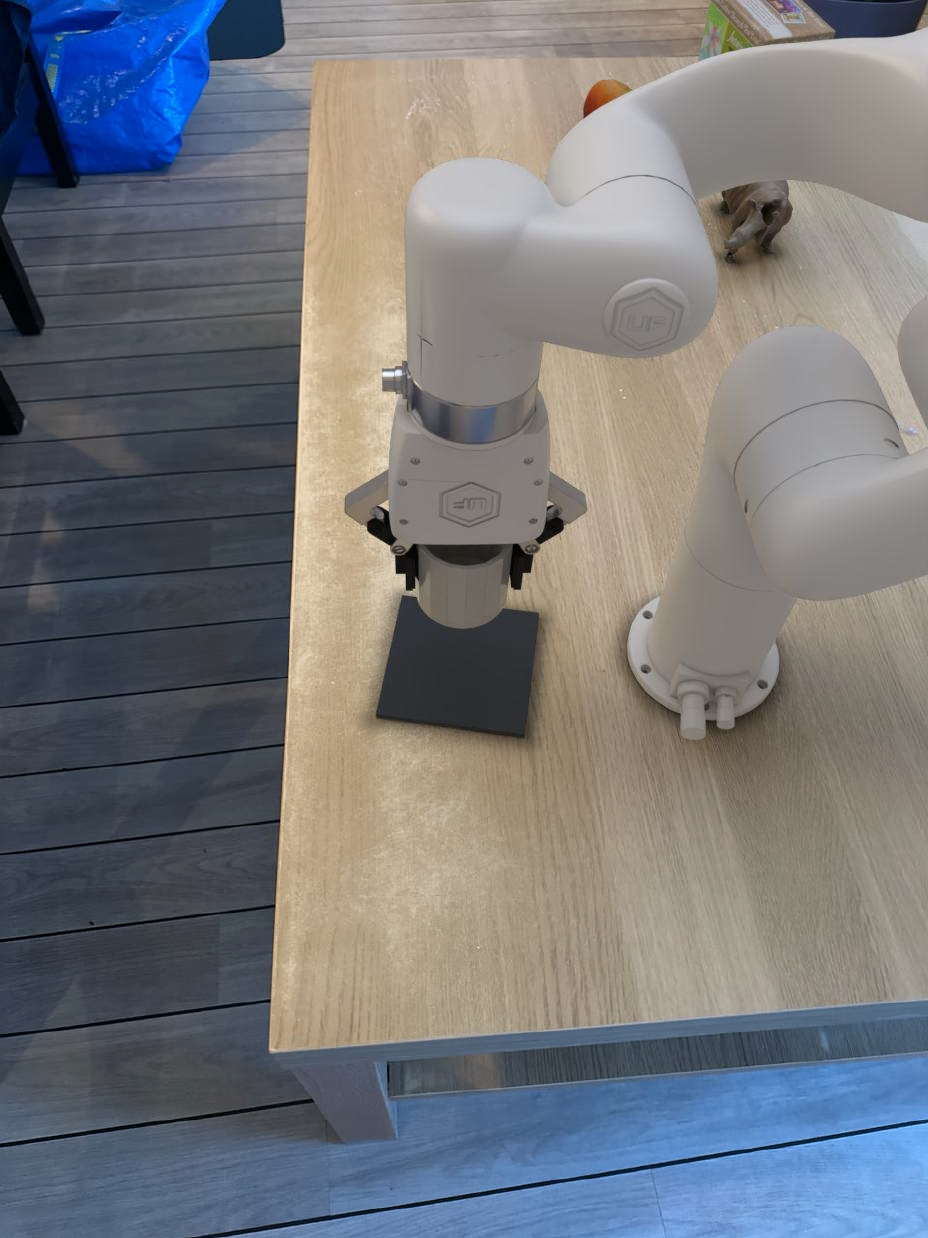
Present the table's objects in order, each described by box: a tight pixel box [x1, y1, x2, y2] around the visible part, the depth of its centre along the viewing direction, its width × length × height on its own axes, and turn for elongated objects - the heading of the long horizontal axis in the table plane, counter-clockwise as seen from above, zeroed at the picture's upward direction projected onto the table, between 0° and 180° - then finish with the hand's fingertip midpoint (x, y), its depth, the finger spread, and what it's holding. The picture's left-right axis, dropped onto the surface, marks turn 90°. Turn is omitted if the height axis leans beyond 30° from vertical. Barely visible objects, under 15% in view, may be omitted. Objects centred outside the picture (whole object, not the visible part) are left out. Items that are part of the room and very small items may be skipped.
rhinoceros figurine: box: [717, 180, 794, 264], centre depth 112 cm, size 8×14×15 cm
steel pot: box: [415, 544, 513, 629], centre depth 69 cm, size 7×7×7 cm
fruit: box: [582, 78, 633, 120], centre depth 126 cm, size 8×8×8 cm
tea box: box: [697, 0, 836, 62], centre depth 125 cm, size 15×10×15 cm
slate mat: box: [375, 594, 540, 739], centre depth 80 cm, size 12×12×1 cm
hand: (462, 573), depth 70 cm, fingers closed on steel pot, 7 cm apart
